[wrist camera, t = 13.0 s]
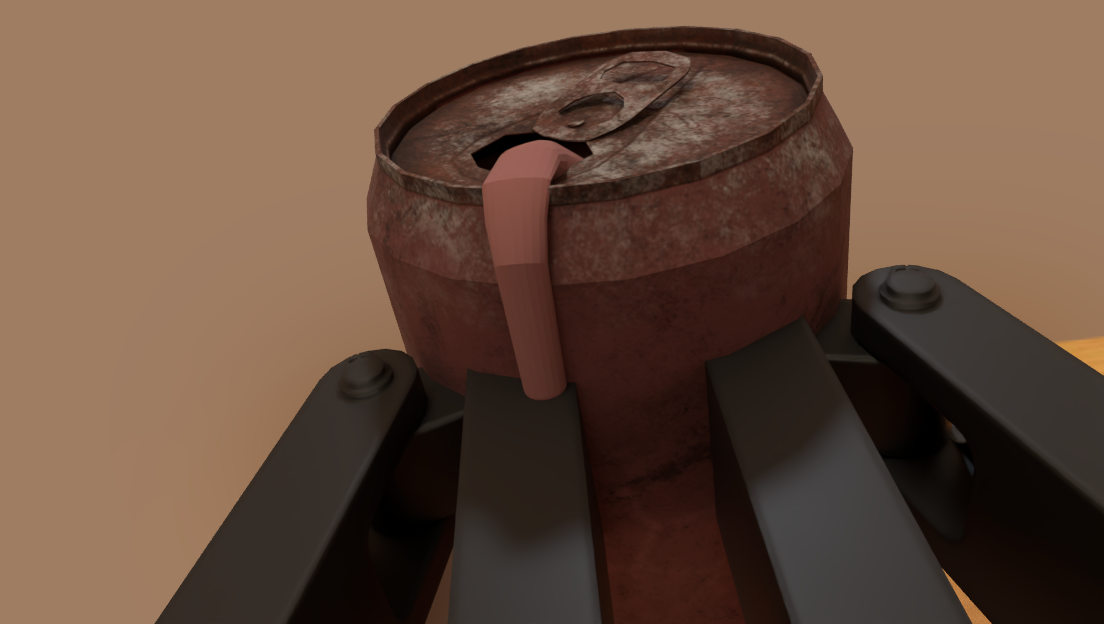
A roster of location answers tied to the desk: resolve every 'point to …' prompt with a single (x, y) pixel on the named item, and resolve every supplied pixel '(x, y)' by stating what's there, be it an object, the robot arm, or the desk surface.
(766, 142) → the can
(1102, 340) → the desk surface
